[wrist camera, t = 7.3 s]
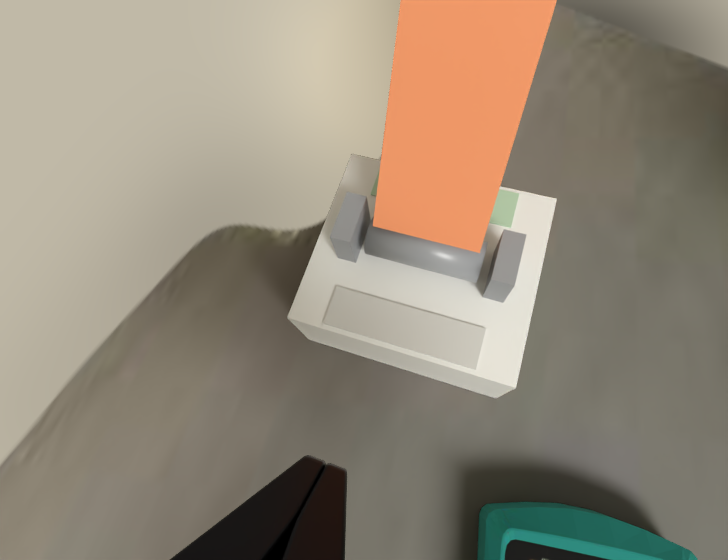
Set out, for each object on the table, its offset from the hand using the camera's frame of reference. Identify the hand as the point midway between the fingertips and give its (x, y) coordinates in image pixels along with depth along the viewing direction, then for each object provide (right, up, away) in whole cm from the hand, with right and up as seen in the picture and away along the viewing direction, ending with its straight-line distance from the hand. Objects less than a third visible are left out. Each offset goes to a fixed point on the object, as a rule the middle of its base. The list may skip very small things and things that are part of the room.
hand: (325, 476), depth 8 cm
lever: (+3, +5, +9) cm, 10 cm away
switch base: (+4, +3, +13) cm, 14 cm away
